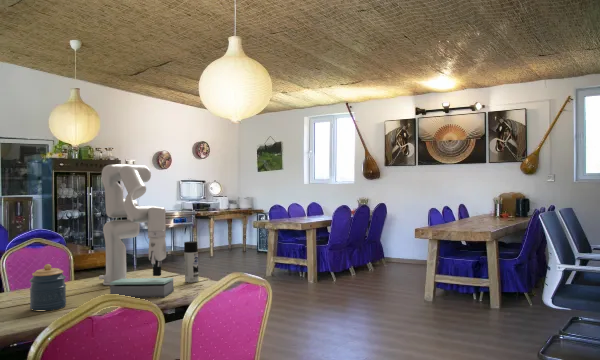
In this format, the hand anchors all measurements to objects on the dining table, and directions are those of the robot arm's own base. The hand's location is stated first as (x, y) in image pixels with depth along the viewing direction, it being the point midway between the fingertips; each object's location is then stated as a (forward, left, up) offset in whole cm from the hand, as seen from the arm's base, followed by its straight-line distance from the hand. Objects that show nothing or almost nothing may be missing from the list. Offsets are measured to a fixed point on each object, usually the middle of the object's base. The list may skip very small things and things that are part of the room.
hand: (157, 275), depth 209 cm
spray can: (+7, +28, -9) cm, 30 cm away
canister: (-37, -22, -9) cm, 44 cm away
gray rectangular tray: (-7, 0, -8) cm, 11 cm away
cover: (-7, 0, -3) cm, 7 cm away
